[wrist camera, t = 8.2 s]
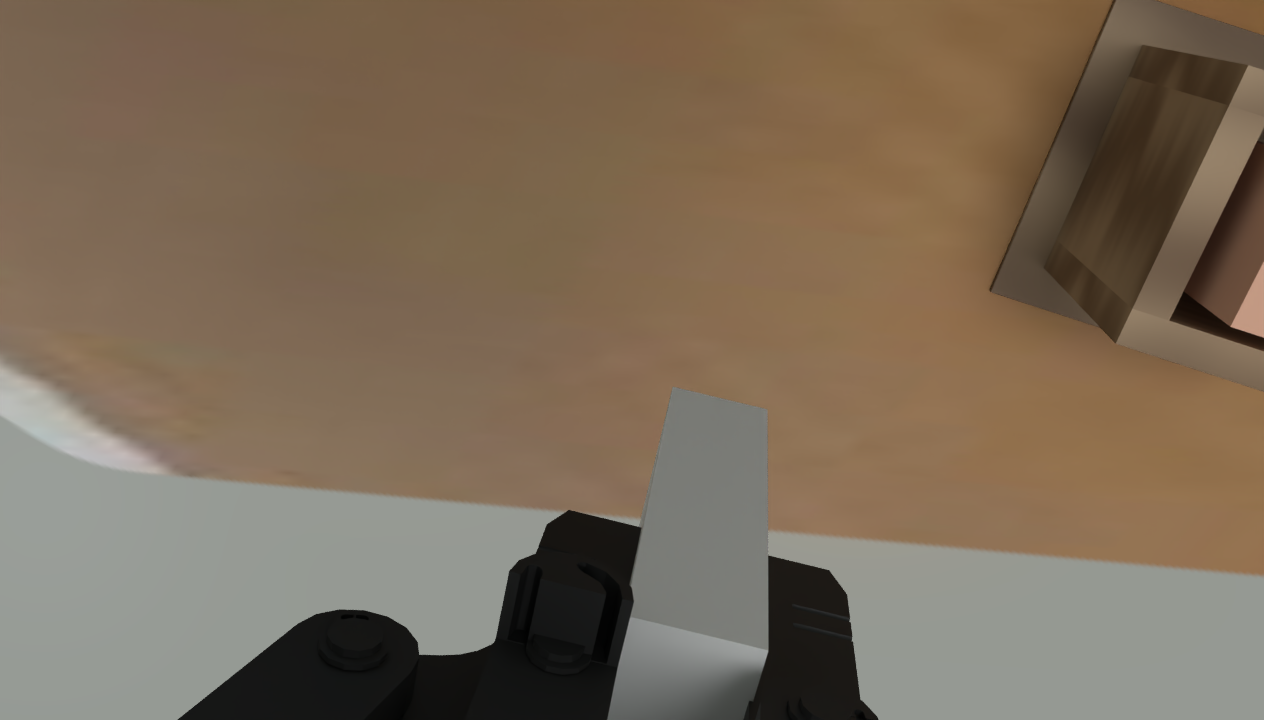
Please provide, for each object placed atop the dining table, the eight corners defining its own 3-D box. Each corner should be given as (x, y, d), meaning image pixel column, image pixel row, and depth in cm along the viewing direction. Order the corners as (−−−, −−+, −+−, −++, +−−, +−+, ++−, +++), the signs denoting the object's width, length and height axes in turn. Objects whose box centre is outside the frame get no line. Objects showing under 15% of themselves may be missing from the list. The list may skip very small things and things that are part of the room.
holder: (1115, -11, 43) (1222, -6, 33) (1426, 89, 43) (1625, 125, 33) (987, 288, 47) (1048, 372, 37) (1271, 380, 47) (1407, 489, 37)
